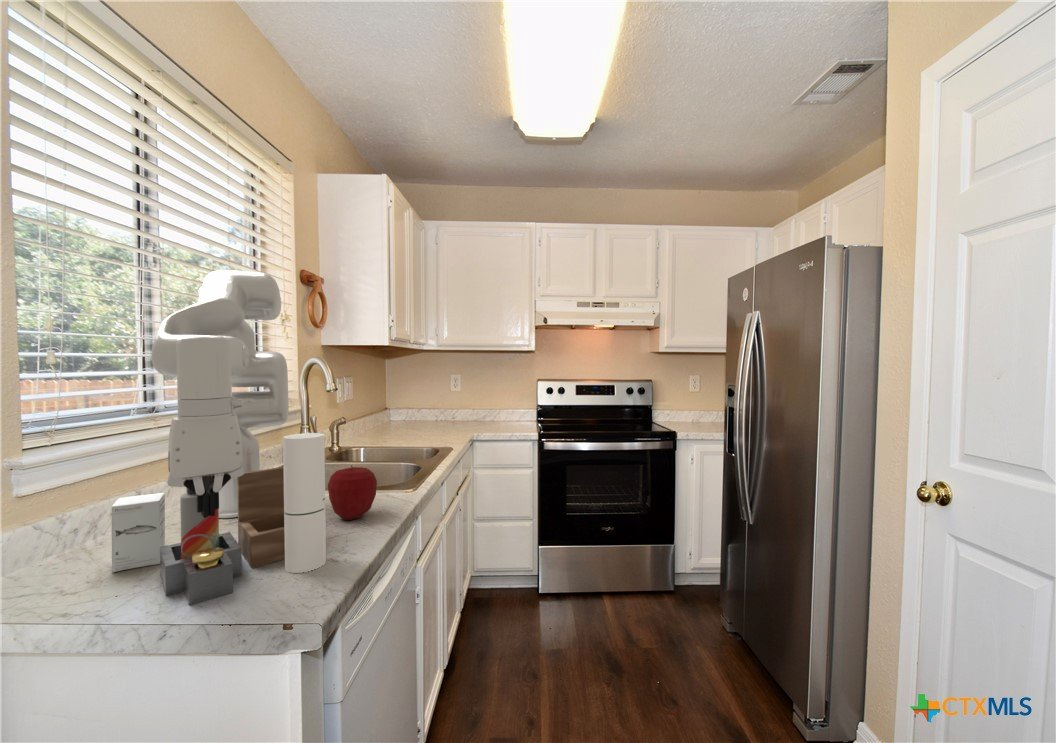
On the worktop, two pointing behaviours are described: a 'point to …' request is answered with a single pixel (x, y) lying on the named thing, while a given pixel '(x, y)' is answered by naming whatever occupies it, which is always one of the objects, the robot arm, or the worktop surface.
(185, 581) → the socket
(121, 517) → the supplement box
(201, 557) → the pin
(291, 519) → the cylindrical container
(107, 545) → the worktop surface
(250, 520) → the rack
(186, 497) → the lotion bottle
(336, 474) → the apple
